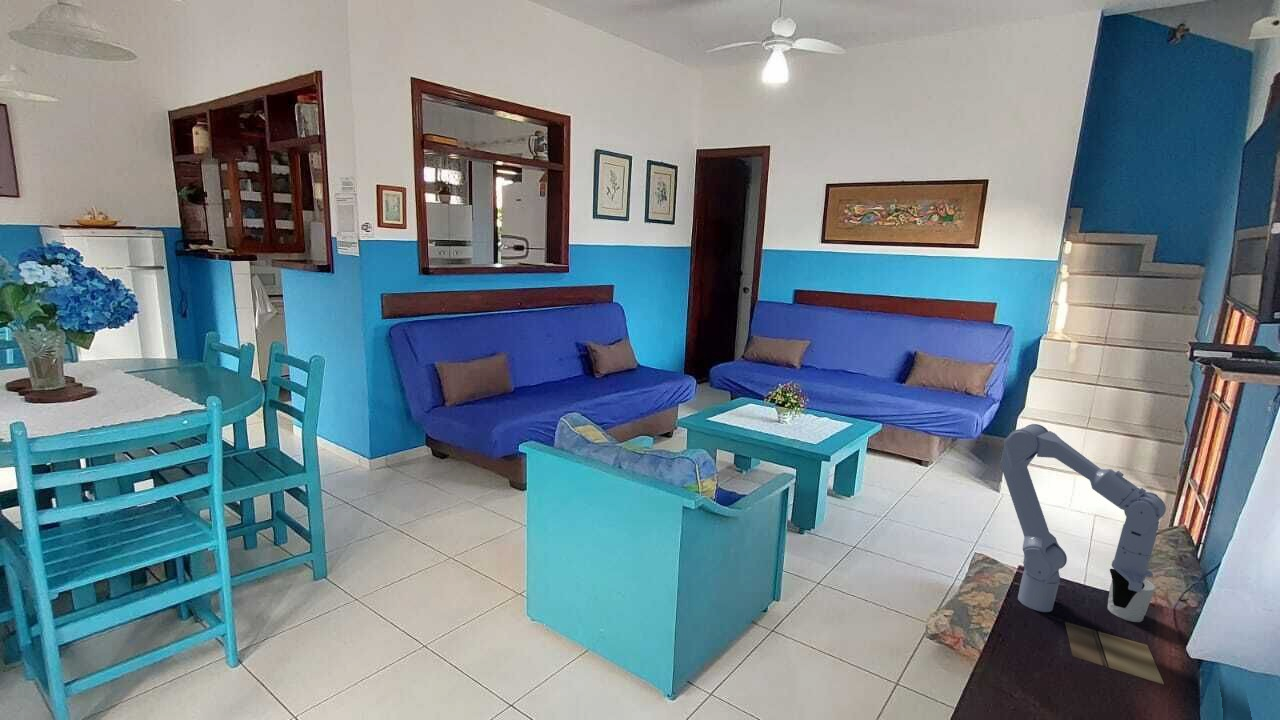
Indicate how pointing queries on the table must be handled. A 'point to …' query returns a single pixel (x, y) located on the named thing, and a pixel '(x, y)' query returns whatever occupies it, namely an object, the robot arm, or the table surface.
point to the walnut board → (1085, 644)
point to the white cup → (1133, 604)
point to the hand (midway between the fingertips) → (1119, 605)
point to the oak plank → (1130, 657)
